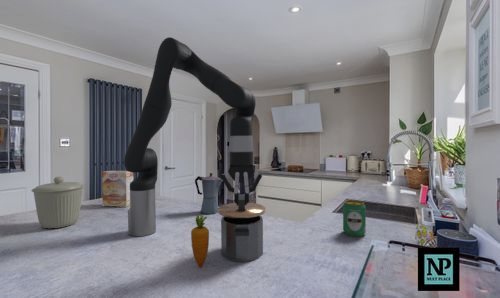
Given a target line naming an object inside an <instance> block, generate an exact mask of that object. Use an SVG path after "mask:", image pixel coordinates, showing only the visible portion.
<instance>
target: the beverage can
mask: <svg viewBox="0 0 500 298" xmlns="http://www.w3.org/2000/svg"><path fill="white" fill-rule="evenodd" d="M366 207H367V206H366V205H365V202H363V201H360V200H351V199H350V200H346V201H344V203H343V205H342V230H343V232H344V235H346V236H350V237H354V238H359V237H361V238H362V237H363V236H365V234H366V225H367V223H366V220H367V219H366V217H367V214H366V211H367V210H366Z"/></svg>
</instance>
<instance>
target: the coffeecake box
mask: <svg viewBox="0 0 500 298" xmlns="http://www.w3.org/2000/svg"><path fill="white" fill-rule="evenodd" d="M133 180H134V173H132V172H129V171H127V170H106V171H101V183H102V184H101V185H102V187H101V188H102V191H101V192H102V195H101V196H102V206H103V205H104V206H120V207H119V208H128V207H127V206H129V207H130V183H131V182H132V181H133Z"/></svg>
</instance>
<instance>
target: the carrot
mask: <svg viewBox="0 0 500 298" xmlns="http://www.w3.org/2000/svg"><path fill="white" fill-rule="evenodd" d="M207 218H208V216H204V215H200V214H196V217H195V223H196V225H197V226H195V227H194V228H192V229H191V232H190V238H191V241H190V242H191V250H192V254H193V258H194V260H195V262H196V264H197V266H198V267H199V268H202V267H204V266H203V265H204V264H205V262H206V259H207V256H208V253H209V252H208V251H209V246H210V243H209V241H210V240H209V239H210V231H209V228H208V227H206V226H204V225H205V221H206V219H207Z"/></svg>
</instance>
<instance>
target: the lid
mask: <svg viewBox="0 0 500 298" xmlns="http://www.w3.org/2000/svg"><path fill="white" fill-rule="evenodd" d="M265 213H266V206H264V205H262V204H259V203H255V202H249V203H247V205H245V194H239V198H238V205H236V203H235V202H232V203H230V202H229V203H225V204H223V205H222V204H221V205H219V206H218V213H217V214H219V216H222V217H223V216H225V217H230V218H251V217H257V216H262V215H264V214H265Z"/></svg>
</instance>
